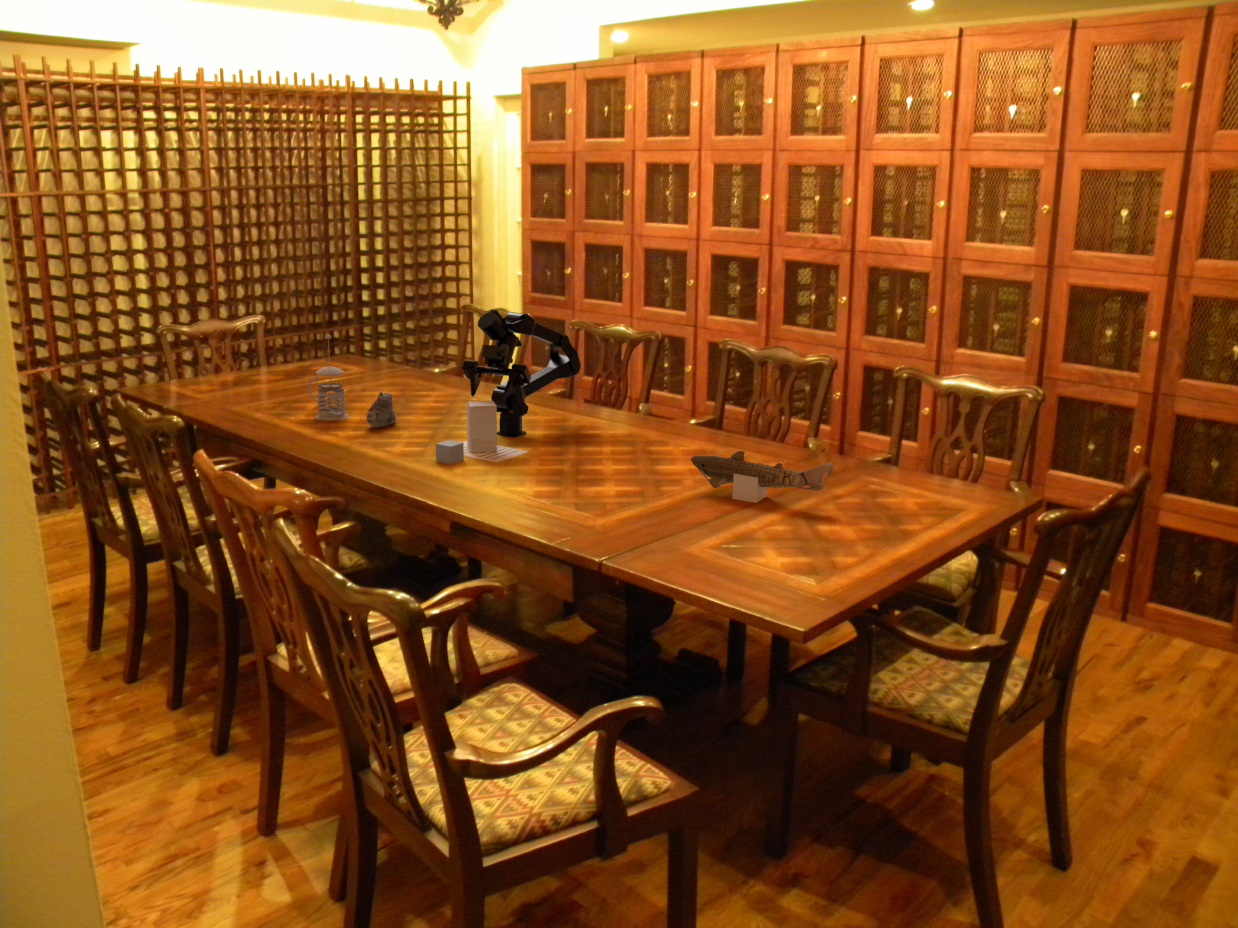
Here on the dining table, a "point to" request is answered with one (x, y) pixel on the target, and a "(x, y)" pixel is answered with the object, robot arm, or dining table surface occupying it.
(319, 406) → the french press
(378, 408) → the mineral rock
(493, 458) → the letter
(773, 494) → the dining table surface
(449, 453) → the cube
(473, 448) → the supplement box
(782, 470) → the wood carving
